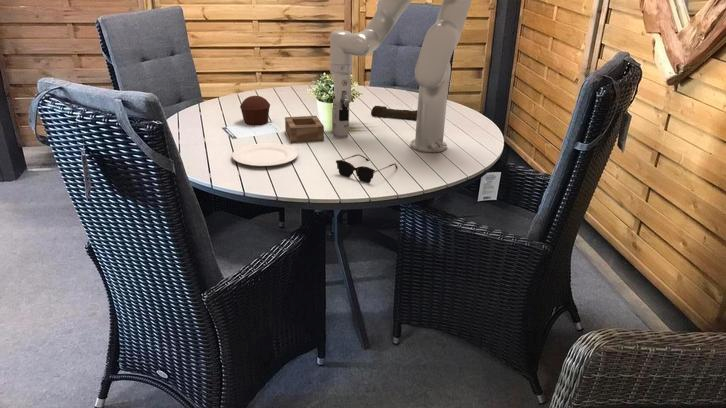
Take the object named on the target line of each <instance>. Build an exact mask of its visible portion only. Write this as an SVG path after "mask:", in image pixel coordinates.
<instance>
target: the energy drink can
mask: <svg viewBox="0 0 726 408" xmlns="http://www.w3.org/2000/svg"><path fill="white" fill-rule="evenodd" d="M332 99H333V98H332ZM342 101H344V100H342ZM348 105H349V106H348V108H349V109H348V121H339V110H340V105H339V103H338V102H337V101H336V98H334V99H333V108H332V107H331V109H332V110H331V113H332V114H331V117H332V118H331V119H332V120H331V121H332V122H331V124H332V127H331V132H332V133H331V134H332V135H333V137H334V138H337V139H339V138H340V139H342V138H347V137H348V135H349V133H350V103H349V102H348Z"/></svg>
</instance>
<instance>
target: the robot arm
mask: <svg viewBox="0 0 726 408" xmlns="http://www.w3.org/2000/svg"><path fill="white" fill-rule="evenodd" d="M472 1H473V0H442V2H441V6H440V10H439V12H438V16H437V17H436V21H435V22H434V24H433V25H431V26H430V27H429V28H428V30H427V32H426V34H425V36H424V39H423V43H422V45H421V48H420V52H419V55H418V58H417V61H416V64H415V68H414V78H415V81H416V83H417V84H418V86H419V87H418V96H417V99H418V100H417V109H416V110H417V120H416V127H415V138H414V139H413V140H411V141H410V147H411V148H412V149H414V150H416V151H418V152H423V153H440V152H444V151H446V150H447V148H448V144H447V142H445V141H444V135H445V123H446V116H447V115H446V113H447V102H448V94H449V93H448V92H449V86H450V85H449V84H450V80H451V74H452V73H451V72H452V71H451V70H452V67H451V62H450V61H451V60H452V59H451V58H452V56H453V53H454V50H455V48H456V47H457V46H458V44H459V43H460V40H461V37H462V36H461V35H462V32H463V29H464V27H465V23H466V22H467V21H466V20H467V17H468V13H469V10H470V8H471V4H472ZM412 2H413V0H378V1H377V4H376V5H377V7H376V11H375V14H373V17H372V18H371V20H370V21H369V23H368V24H367V25H366V27H365V28H364V29H363V30H362V31H359V32H356V33H352V32H351V31H349V30H345V29H344V30H343V29H338V30H333V31H331V33H330V40H329V41H330V47H329V49H330V51H329V53H330V54H329V56H330V57H329V59H330V60H329V72H330V73H331V74H332V76H331V77H333V83H334V93H335V98H336V101H337V102H338V103H339V105H340V110H339V121H348V109H349V110H350V103H351V102H352V80H351V79H352V77H351V74H353V56H355V57H359V58H360V57H365V56H367V55H369V54H371V53H373V52H374V51H376V50H377V49H378V48H379V47H380V46H381V44H382V43H383V41H384V40H385V39H386V38H387V36H388V35H389V34H390V32H391V31H392V30H393V27H395V25H396V23H398V20H399V18H400V17H402V16H401V15H402V14H403V13H404V12H405V11H406V9H407V8H408V6H409V5H410V4H411V3H412ZM343 82H344V83H343ZM342 100H344V101H342ZM348 102H349V105H348ZM348 106H349V108H348Z"/></svg>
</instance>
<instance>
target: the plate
mask: <svg viewBox="0 0 726 408" xmlns="http://www.w3.org/2000/svg"><path fill="white" fill-rule="evenodd" d="M298 156H299V153H298V150H297V149H296V148H294V147H292V146H290V145H286V144H284V143H283V144H282V143H273V142H268V143H267V142H263V143H252V144H248V145H244V146H241V147H239V148H237V149H235V150H234V151H233V152H232V154H231V158H232V159H233V161H235V162H236V163H238V164H240V165H241V164H242V165H243V166H244V165H245V166H250V167H254V168H257V167H258V168H273V167H278V166H282V165H286V164H289V163H291V162H293V161H294V160H296V159H297V157H298Z"/></svg>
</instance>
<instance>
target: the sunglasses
mask: <svg viewBox="0 0 726 408" xmlns="http://www.w3.org/2000/svg"><path fill="white" fill-rule="evenodd" d="M354 157H362V158H363V159H364V160H365V161H367V162H369V161H370V159H368V158H367V157H365V156H364V155H362V154H354V155H351V156H348V157H345V158H342V159H336V160H335V164H336V169H337V170H338V173H339V176H343V177H346V178H350V177H351V176H353V175H354V172H355V174H356V177H358V180H359V181H360V182H363V183H366V184H367V183H368V184H370V183H371V182H372V179H374V174H376V173H377V172H380V171H382V170H385V169H387V168H391V167H392V166H395V169H398V166H397V164H396V163H392V164H389V165H387V166H385V167H383V168H380V169H376V170H375V169H373V168H371V167H367V166H357V167H355V166H354V164H352V163H351V162H348V161H346V160H348V159H351V158H354Z"/></svg>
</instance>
